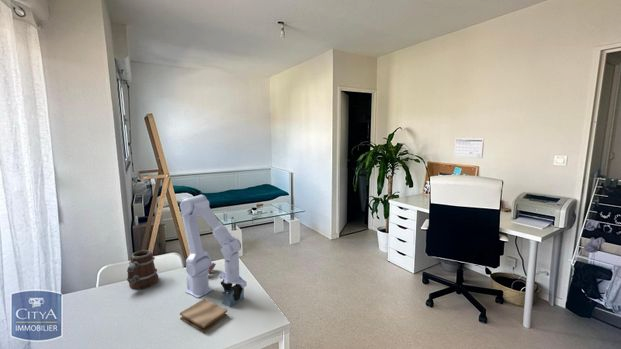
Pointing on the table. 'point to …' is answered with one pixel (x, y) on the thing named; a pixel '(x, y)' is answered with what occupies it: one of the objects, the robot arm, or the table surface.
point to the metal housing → (230, 297)
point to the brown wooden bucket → (142, 270)
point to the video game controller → (211, 267)
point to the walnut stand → (203, 315)
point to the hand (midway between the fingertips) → (233, 297)
